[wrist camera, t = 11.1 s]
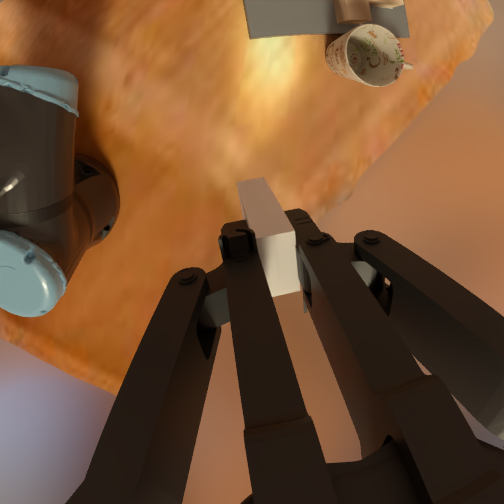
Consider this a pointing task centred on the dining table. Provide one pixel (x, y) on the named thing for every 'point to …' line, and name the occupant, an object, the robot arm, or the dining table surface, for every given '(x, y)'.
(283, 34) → the board
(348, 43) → the mug
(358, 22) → the t block
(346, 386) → the robot arm
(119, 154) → the dining table surface
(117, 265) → the dining table surface
